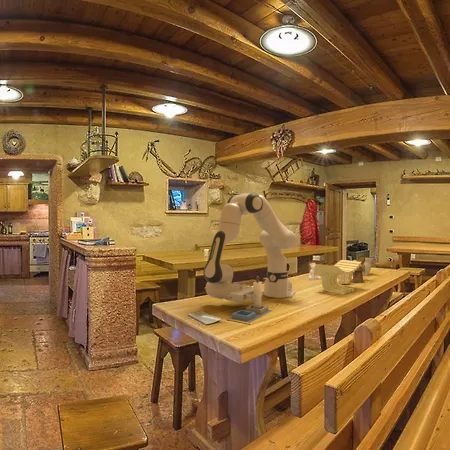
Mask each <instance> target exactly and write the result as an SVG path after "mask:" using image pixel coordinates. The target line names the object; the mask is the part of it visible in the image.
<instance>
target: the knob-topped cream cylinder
mask: <svg viewBox="0 0 450 450" xmlns="http://www.w3.org/2000/svg"><path fill="white" fill-rule="evenodd" d="M255 280H256V281H253V285H252V286H253V295H256V299H252V305H253V308H255V309H261V305H262V296H261V294H262V291H263V290H262V288H263V286H262V285H263V284H262V281H260V276H258V275H256V276H255Z"/></svg>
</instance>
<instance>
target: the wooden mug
mask: <svg viewBox="0 0 450 450" xmlns="http://www.w3.org/2000/svg"><path fill="white" fill-rule="evenodd" d="M365 258H366V257H364V256H363V255H360V256H358V257H357V258H356V260H357V262H361V264H363V263H364V262H365ZM351 283H354V284H364V283H365V282H364V275H363V274H362V267H361V266H360V267H359V268H357V270H355V272H353V279H352V282H351Z"/></svg>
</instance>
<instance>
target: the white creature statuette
mask: <svg viewBox="0 0 450 450" xmlns="http://www.w3.org/2000/svg"><path fill="white" fill-rule="evenodd" d="M317 264H318V263H315V262H311V263H309V266H310V269H309V273H308V280H309V281H312V280H313V281H314V280H315V281H316V280H319V281H322V278H321V276H314V267H315V266H316V265H317Z"/></svg>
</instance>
